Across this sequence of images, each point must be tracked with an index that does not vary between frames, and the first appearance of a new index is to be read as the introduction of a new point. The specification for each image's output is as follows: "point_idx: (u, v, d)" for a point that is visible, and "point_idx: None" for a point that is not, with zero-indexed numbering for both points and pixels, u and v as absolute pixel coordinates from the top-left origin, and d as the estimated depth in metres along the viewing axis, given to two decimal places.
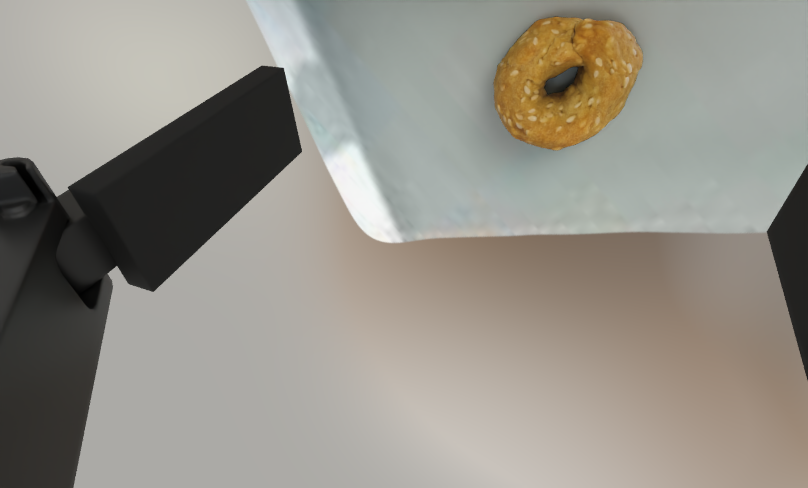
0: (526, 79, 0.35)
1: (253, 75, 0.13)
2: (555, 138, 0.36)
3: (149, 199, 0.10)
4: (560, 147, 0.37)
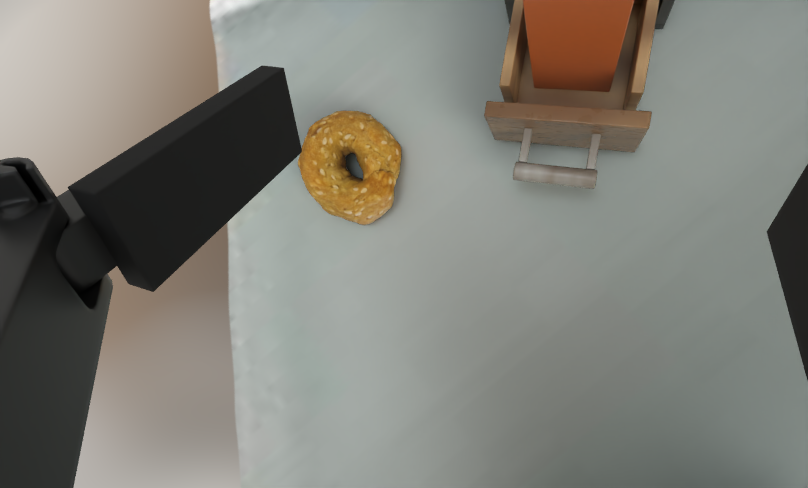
0: (355, 135, 0.42)
1: (253, 75, 0.13)
2: (307, 160, 0.43)
3: (149, 199, 0.10)
4: (299, 165, 0.44)
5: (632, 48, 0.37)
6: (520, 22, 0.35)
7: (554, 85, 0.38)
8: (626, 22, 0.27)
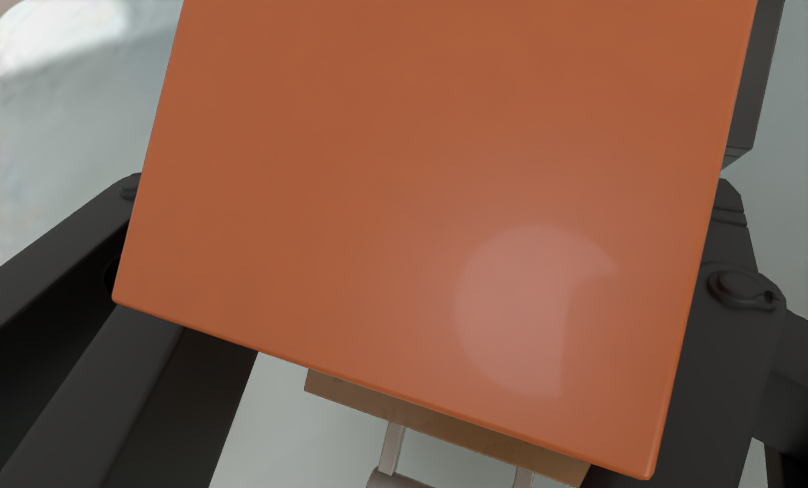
0: None
1: None
2: None
3: None
4: None
5: None
6: None
7: None
8: None
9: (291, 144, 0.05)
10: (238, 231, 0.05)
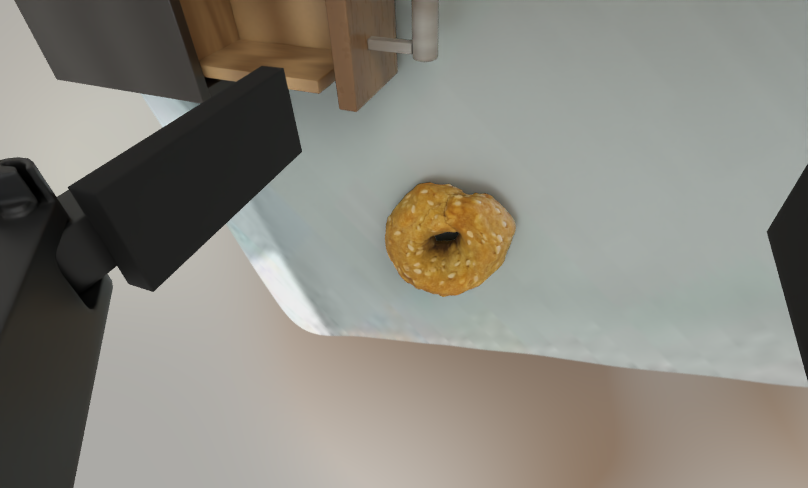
0: (408, 239, 0.37)
1: (254, 75, 0.13)
2: (439, 290, 0.38)
3: (149, 199, 0.10)
4: (446, 295, 0.39)
5: None
6: (247, 71, 0.29)
7: None
8: None
9: None
10: None
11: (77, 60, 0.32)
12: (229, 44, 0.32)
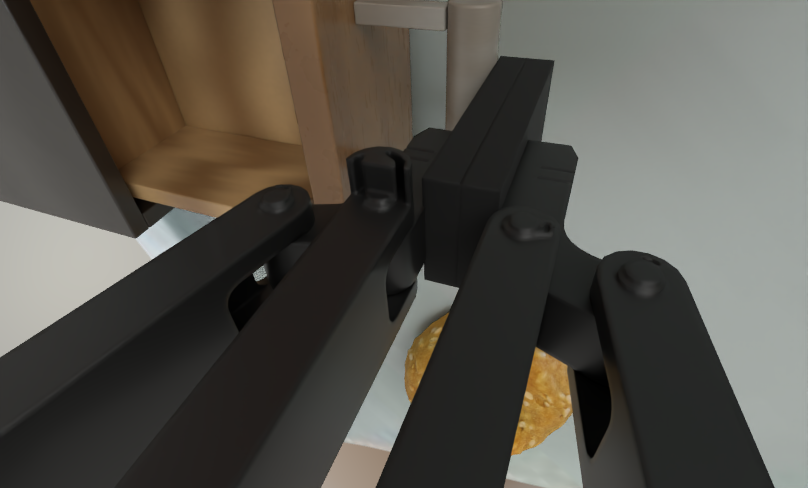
0: None
1: (503, 65, 0.13)
2: None
3: None
4: None
5: None
6: (185, 196, 0.19)
7: None
8: None
9: None
10: None
11: None
12: (169, 135, 0.22)
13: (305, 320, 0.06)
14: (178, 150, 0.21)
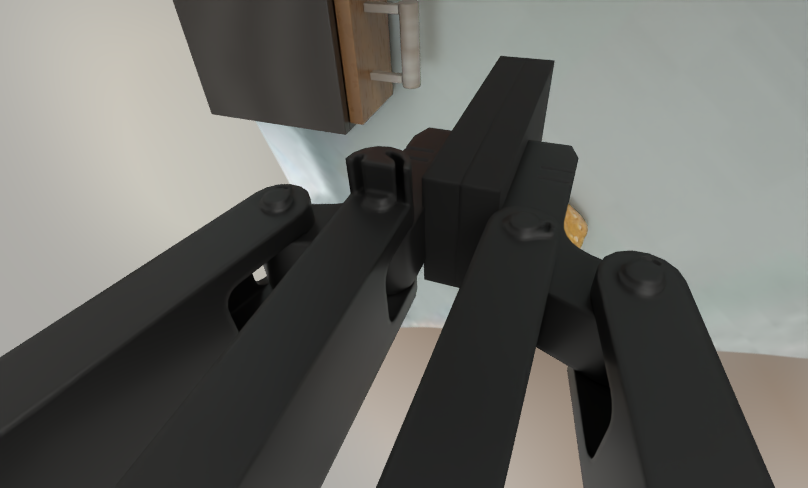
0: None
1: (502, 65, 0.13)
2: None
3: None
4: None
5: None
6: None
7: None
8: None
9: None
10: None
11: (236, 100, 0.40)
12: None
13: (305, 320, 0.06)
14: None
